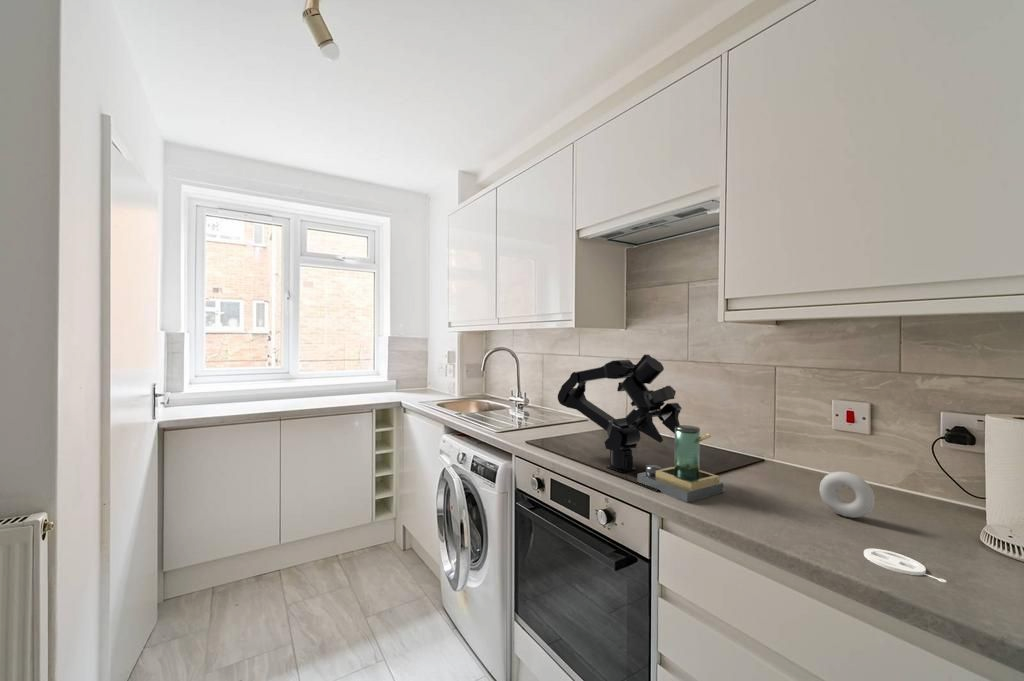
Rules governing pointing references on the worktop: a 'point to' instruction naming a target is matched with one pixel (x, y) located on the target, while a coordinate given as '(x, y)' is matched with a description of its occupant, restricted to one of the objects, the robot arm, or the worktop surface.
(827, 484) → the donut
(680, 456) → the spout can
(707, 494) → the grey tray base
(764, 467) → the worktop surface
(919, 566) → the pendant
